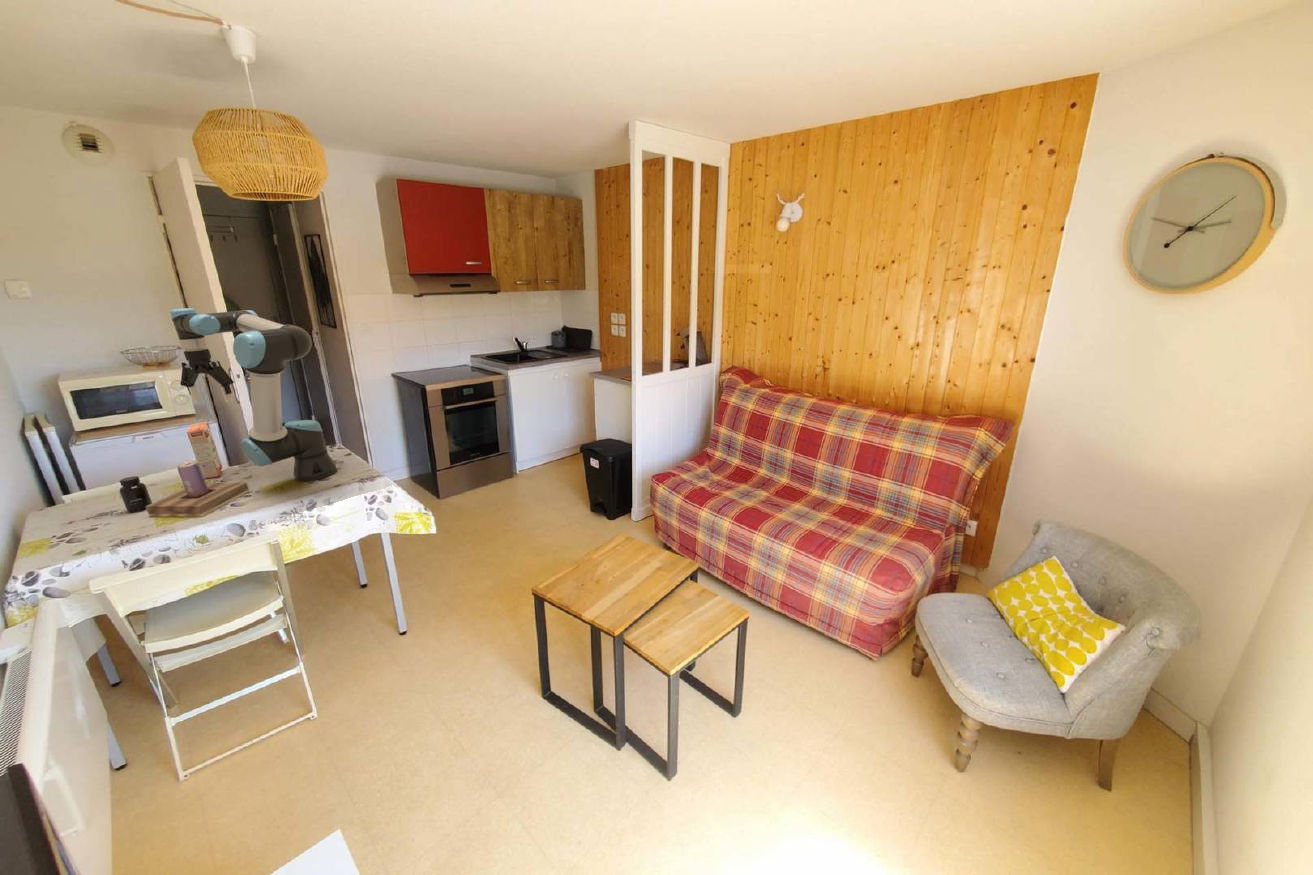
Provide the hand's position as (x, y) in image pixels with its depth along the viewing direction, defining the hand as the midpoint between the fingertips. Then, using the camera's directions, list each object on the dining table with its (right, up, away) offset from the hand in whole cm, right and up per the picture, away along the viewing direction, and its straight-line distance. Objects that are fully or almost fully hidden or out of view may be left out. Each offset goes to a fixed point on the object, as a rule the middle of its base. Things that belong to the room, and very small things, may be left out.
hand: (213, 402), depth 202 cm
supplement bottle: (-11, -40, -18) cm, 46 cm away
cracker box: (-12, -30, +13) cm, 35 cm away
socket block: (+9, -39, -16) cm, 43 cm away
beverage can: (+9, -38, -16) cm, 42 cm away
